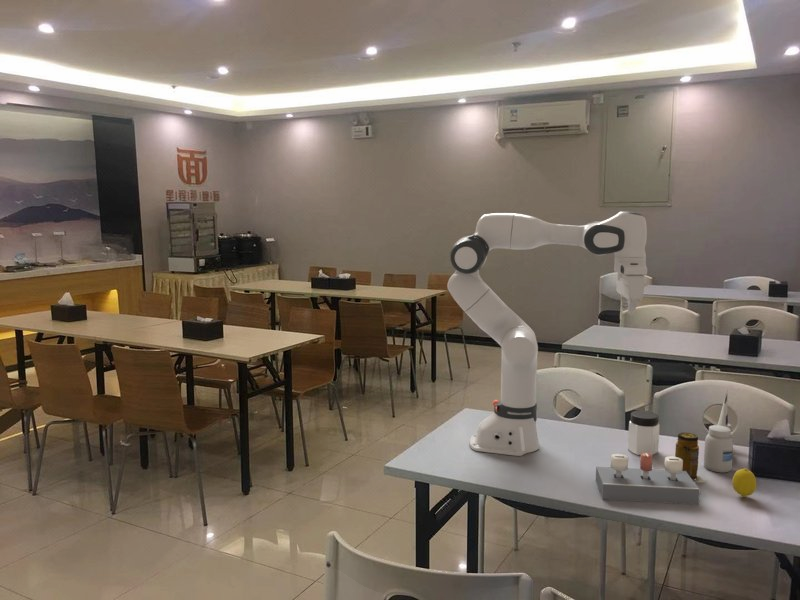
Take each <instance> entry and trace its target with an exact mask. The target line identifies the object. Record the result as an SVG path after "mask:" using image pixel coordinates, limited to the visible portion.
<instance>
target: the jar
mask: <svg viewBox="0 0 800 600" xmlns="http://www.w3.org/2000/svg"><path fill="white" fill-rule="evenodd" d="M659 420H660V419H659V414H657V413H655V412H653V411H649V410H633V411H632V412H631V413H630V420H629V421H628V438H627V441H628V442H627V450H628V451H630V452H631V453H633V454H635V455H636V456H637V455H638V456H641V453H650V454H652V455H653V456H654V455H656V454H658V453H659V444H660V443H659V441H660V440H659V439H660V423H659Z"/></svg>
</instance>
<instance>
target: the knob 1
mask: <svg viewBox="0 0 800 600" xmlns="http://www.w3.org/2000/svg"><path fill="white" fill-rule="evenodd" d="M628 465H629V457H628V456H627V455H625V454H621V453H613V454H611V456H610V467H611V468H612V469H614V470H616V478H621V474H622V471H625V470H627V469H628V468H629V467H628Z"/></svg>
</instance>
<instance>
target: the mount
mask: <svg viewBox="0 0 800 600" xmlns="http://www.w3.org/2000/svg"><path fill="white" fill-rule="evenodd" d="M595 482H596V485H597V487H598V490H599V493H600V495H601V498H602V500H612V501H613V500H614V501H632V502H648V503H651V502H652V503H662V502H663V503H664V504H665V502H666V503H668V504H682V505H685V504H686V505H699V502H700V488H699V487H698V486H697V484H696V483H695V482H693V480H692V479H691V477H690V476H689V475H688V473H687V472H686V471H682V473H679V474H676V481H670V473H669V472H667V471H665V469H655V468H654V469H653V468H652V471H649V475H648V480H645V479H643V470H641V469H640V468H633V467H632V468H630V467H628V469H627V470H625V471H622V474H621V478H616V470H614V469H612V468H611V466H595Z"/></svg>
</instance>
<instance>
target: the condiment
mask: <svg viewBox="0 0 800 600" xmlns="http://www.w3.org/2000/svg"><path fill="white" fill-rule="evenodd" d="M698 441H699V437H698V436H697V435H696V434H695V433H691V432H687V431H686V432H679V433H678V434H677V441H676V443H675V454H674V457H678V458H681V459H682V460H683V468H682V471H686V472H687V473H688V475H689V476H690V477H691V479H692V480H693V482H694V483H695V484H696V483H706V481H705V479H703V478H702V476H700V475H699V474H698V470H699V469H698V468H699V454H700V452H699V451H700V446H699V442H698Z"/></svg>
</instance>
